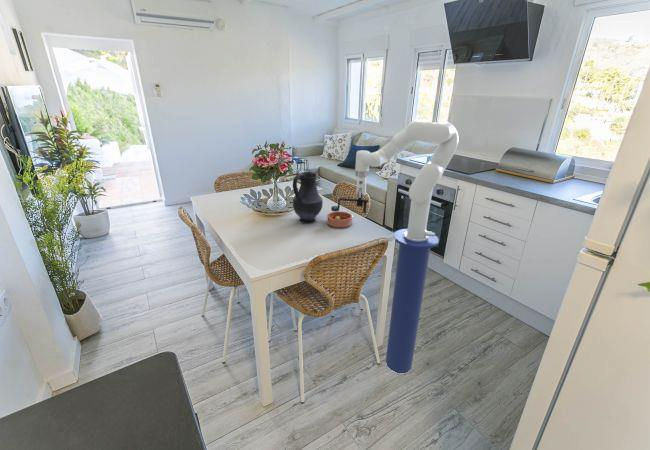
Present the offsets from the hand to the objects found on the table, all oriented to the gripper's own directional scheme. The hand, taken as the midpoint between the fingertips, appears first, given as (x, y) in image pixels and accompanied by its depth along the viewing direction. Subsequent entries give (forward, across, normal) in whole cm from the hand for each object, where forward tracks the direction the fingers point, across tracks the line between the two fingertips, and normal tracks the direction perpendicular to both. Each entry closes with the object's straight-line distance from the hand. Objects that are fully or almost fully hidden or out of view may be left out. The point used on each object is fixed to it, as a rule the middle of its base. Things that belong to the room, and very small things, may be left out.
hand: (359, 205), depth 179 cm
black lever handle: (+4, 0, +6) cm, 7 cm away
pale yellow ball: (+10, +2, +13) cm, 16 cm away
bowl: (+12, 0, +11) cm, 17 cm away
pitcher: (+13, -1, +31) cm, 34 cm away
